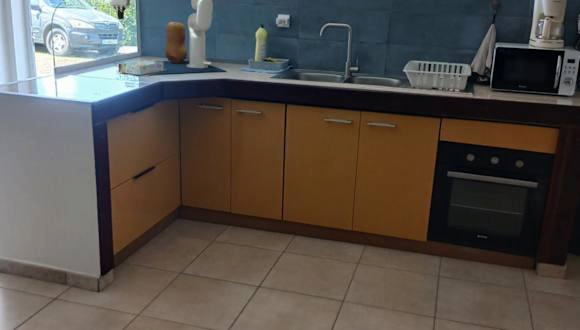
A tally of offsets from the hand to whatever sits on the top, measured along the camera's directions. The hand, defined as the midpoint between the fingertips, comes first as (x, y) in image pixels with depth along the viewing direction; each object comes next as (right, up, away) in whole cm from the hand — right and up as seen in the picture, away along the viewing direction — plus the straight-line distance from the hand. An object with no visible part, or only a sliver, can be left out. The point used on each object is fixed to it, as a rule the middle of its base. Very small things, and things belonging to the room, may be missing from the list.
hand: (120, 18), depth 331 cm
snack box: (+4, -25, +6) cm, 26 cm away
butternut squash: (+22, -17, +43) cm, 52 cm away
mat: (+13, -29, +5) cm, 32 cm away
